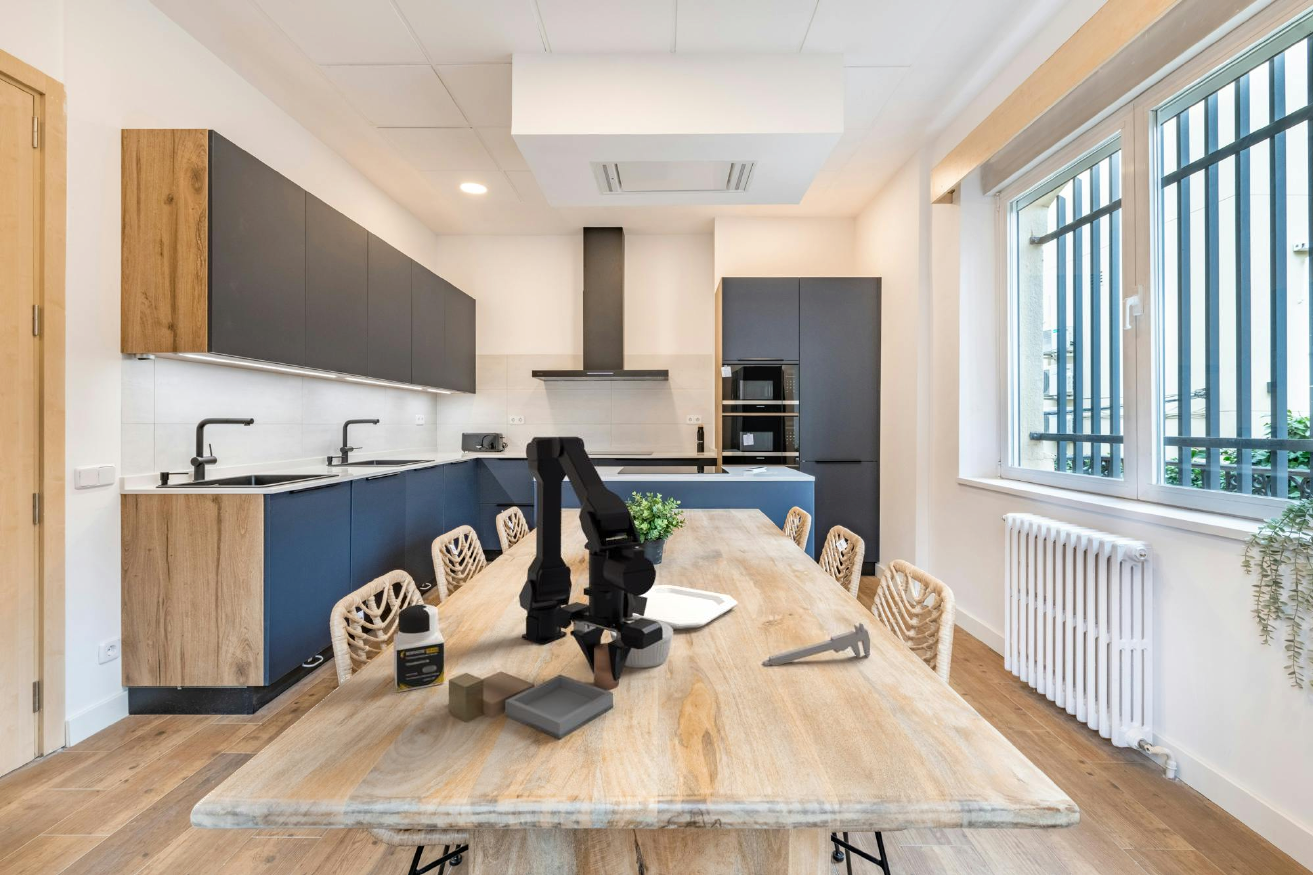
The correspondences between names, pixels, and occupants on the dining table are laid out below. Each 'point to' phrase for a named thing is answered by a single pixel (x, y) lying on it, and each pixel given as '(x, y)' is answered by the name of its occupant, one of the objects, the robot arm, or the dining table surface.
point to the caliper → (827, 647)
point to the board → (501, 692)
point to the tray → (559, 705)
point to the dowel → (603, 668)
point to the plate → (684, 606)
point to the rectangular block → (466, 697)
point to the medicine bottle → (418, 649)
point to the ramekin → (650, 650)
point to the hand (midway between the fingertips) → (606, 676)
